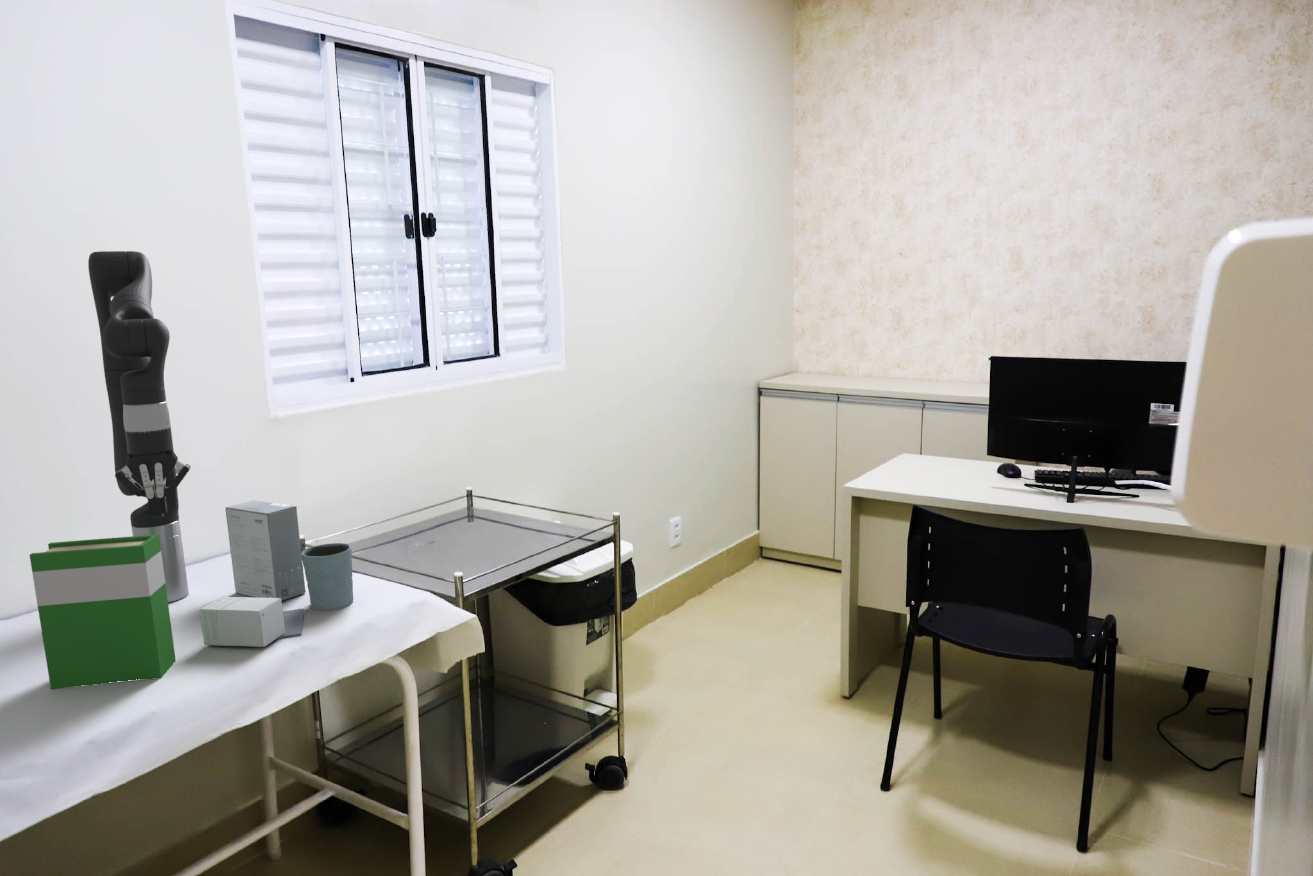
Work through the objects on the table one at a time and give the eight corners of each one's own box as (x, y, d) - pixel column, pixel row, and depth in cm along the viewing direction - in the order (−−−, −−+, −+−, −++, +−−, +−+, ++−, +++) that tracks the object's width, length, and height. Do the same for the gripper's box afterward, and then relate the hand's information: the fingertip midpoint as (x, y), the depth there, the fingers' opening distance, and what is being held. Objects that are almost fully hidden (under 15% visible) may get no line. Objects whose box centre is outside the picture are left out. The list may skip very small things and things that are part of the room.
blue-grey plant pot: (328, 614, 187) (323, 558, 185) (296, 607, 192) (290, 553, 190) (366, 599, 195) (361, 545, 193) (334, 592, 200) (329, 540, 198)
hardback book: (50, 689, 155) (29, 554, 151) (70, 671, 163) (50, 542, 159) (161, 678, 158) (143, 545, 154) (175, 661, 166) (158, 534, 162)
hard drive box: (307, 593, 200) (298, 505, 197) (276, 604, 194) (266, 514, 191) (264, 583, 209) (254, 499, 205) (233, 593, 202) (223, 506, 199)
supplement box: (203, 646, 171) (263, 648, 169) (198, 608, 170) (259, 610, 168) (228, 631, 178) (286, 633, 176) (224, 595, 177) (282, 597, 175)
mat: (230, 620, 185) (230, 618, 185) (303, 610, 190) (303, 608, 190) (222, 647, 171) (221, 645, 171) (301, 635, 176) (300, 633, 176)
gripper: (189, 421, 175) (199, 507, 178) (111, 426, 170) (123, 515, 174) (184, 427, 168) (195, 517, 171) (103, 432, 163) (115, 525, 167)
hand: (158, 516), depth 172 cm, fingers closed
